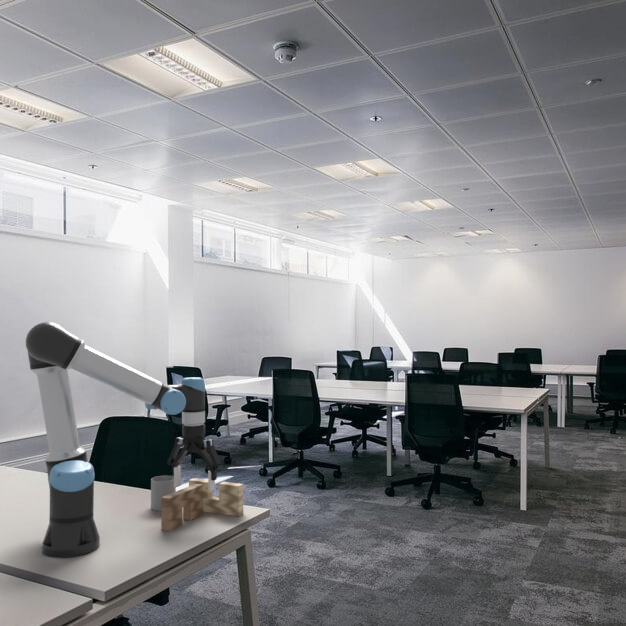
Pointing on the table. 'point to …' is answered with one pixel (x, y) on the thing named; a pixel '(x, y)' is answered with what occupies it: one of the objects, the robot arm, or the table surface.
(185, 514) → the walnut plate
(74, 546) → the robot arm
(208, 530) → the table surface
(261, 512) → the table surface
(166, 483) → the cup
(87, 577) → the table surface
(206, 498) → the notched wooden slab
